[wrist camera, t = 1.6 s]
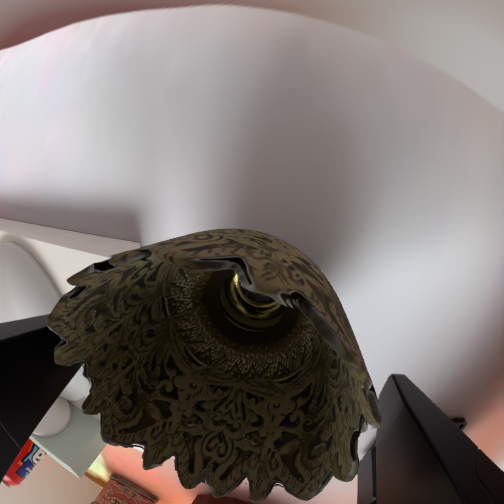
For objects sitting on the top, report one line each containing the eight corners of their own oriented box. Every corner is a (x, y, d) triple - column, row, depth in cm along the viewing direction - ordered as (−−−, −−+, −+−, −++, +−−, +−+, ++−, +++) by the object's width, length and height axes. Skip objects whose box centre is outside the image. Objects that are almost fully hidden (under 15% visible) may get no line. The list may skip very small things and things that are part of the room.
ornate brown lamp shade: (177, 196, 12) (13, 243, 4) (355, 202, 10) (446, 280, 3) (189, 342, 14) (104, 457, 6) (333, 360, 12) (328, 514, 5)
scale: (140, 243, 13) (12, 309, 6) (167, 436, 18) (125, 505, 10) (-5, 217, 16) (-69, 239, 9) (31, 361, 21) (-11, 395, 14)
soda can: (34, 387, 24) (-31, 447, 10) (72, 432, 24) (16, 497, 10) (25, 393, 26) (-29, 443, 12) (58, 432, 27) (9, 485, 13)
